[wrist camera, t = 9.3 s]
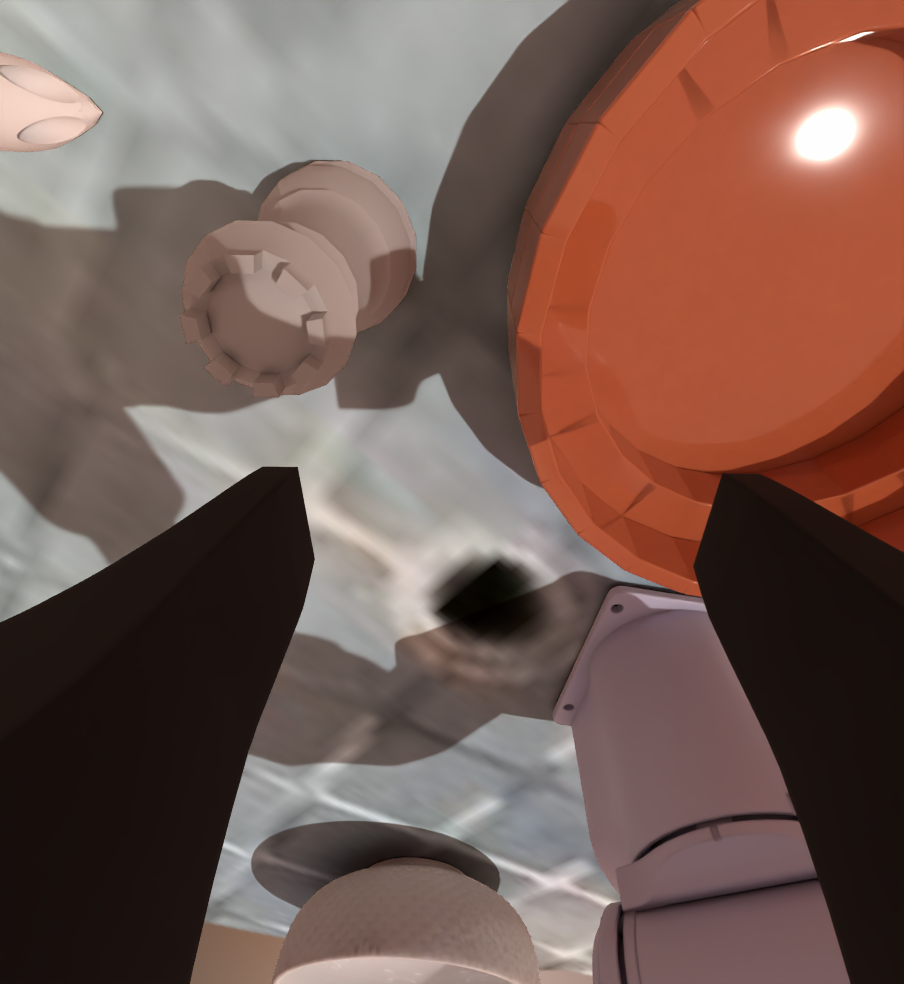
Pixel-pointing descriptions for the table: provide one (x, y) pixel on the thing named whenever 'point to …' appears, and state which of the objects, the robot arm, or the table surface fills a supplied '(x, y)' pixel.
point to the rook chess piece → (299, 279)
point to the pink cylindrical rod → (39, 108)
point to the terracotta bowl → (720, 278)
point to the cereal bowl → (407, 931)
